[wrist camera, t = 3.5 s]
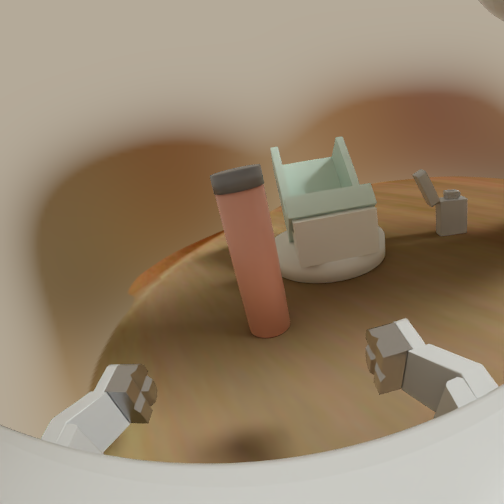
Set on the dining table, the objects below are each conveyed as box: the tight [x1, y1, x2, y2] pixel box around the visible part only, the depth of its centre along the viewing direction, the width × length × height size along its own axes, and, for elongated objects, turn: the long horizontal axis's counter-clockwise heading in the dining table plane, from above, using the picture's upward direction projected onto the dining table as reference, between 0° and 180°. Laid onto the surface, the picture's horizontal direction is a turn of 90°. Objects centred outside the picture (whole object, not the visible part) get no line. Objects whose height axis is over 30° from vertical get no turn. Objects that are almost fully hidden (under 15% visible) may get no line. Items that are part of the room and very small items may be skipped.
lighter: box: [413, 169, 467, 236], centre depth 29 cm, size 7×2×8 cm, turn 80°
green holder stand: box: [271, 137, 385, 283], centre depth 30 cm, size 13×13×12 cm
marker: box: [210, 164, 290, 338], centre depth 20 cm, size 3×3×12 cm
